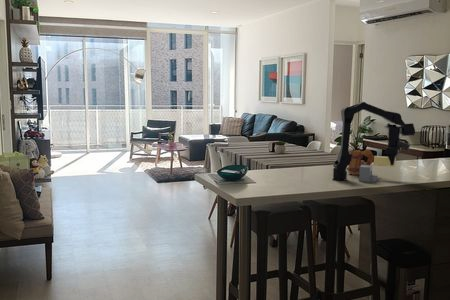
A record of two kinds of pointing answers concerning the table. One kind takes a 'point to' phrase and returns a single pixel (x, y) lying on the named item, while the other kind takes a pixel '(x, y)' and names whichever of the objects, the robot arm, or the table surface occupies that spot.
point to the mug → (358, 160)
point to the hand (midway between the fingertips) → (392, 164)
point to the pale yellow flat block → (383, 161)
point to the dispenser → (367, 174)
